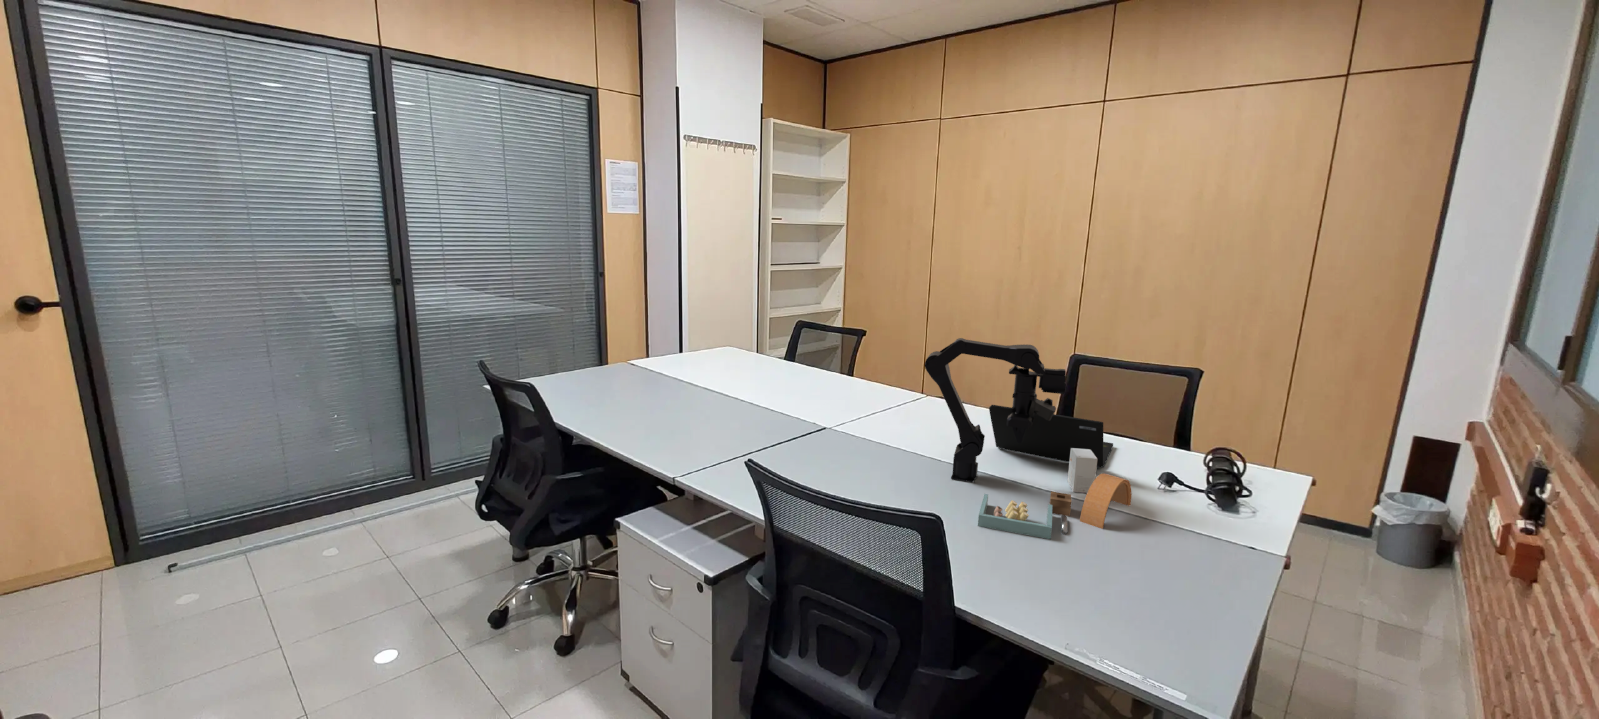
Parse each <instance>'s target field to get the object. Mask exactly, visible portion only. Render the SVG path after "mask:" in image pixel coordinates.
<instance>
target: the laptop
mask: <svg viewBox="0 0 1599 719" xmlns="http://www.w3.org/2000/svg"><path fill="white" fill-rule="evenodd" d="M1011 408H1012V406H1011V407H1010V406H1004V405H997V404H991V405H990V406H989V408H988V410H989V417H990V421H991V422H990V423H991V427H992V431H993V437H994V442H995V446H996V448H999V449H1000V450H1006V451H1011V452H1017V453H1023V454H1026V455H1032V456H1037V457H1042V458H1046V459H1051V460H1052V459H1054V460H1057V461H1063V462H1069V461H1070V451H1071V448H1078V449H1090V450H1091V451H1092V452H1093V454H1094V455H1095V456H1096V458H1097V459H1098V460H1097V468H1101V469H1102V468H1104V467H1105V465H1106V464H1107V461H1108V459H1109V456H1110V455H1111V452H1112V449H1113V447H1114V443H1112V442H1108V441H1107V442H1106V441H1104V422H1103V421H1099V420H1092V419H1087V418H1085V419H1084V418H1080V417H1073V416H1067V415H1062V414H1061V415H1060V414H1055V413H1054V414H1053V416H1052V418H1051V420H1050V421H1048V420H1046V419H1045V418H1043V417H1041V416H1039V415H1037V414H1034V415H1030V416H1031V417H1032V418H1034V420H1033V423H1032V425H1031V428H1030V429H1026V431H1025V434H1024V437H1023V440H1022V443H1017V440H1016V437H1015V434H1014V432H1013V429H1012V427H1009V426H1007V425H1006V424H1007V418H1008V416H1009V415H1010V414H1012V413H1015V412H1011Z"/></svg>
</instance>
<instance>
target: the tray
mask: <svg viewBox="0 0 1599 719" xmlns="http://www.w3.org/2000/svg"><path fill="white" fill-rule="evenodd" d="M988 502H989V494H988V493H984V494H983V497H982V502H981V506H980V508H979V513H978V518H977V526H978V527H981V528H987V529H993V530H998V531H1004V532H1009V533H1013V534H1015V533H1016V534H1021V535H1027V536H1031V537H1037V538H1043V539H1047V540H1052V530H1053V513H1052V505H1050V503H1048V504H1047V513H1046V524H1042V523H1037V522H1031V521H1026V520H1025V521H1021V520H1015V519H1009V518H1007V517H1003V516H1001V517H998V516H994V515H992V514H986V512H987V510H988V508H987V507H988Z"/></svg>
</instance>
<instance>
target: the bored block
mask: <svg viewBox="0 0 1599 719" xmlns="http://www.w3.org/2000/svg"><path fill="white" fill-rule="evenodd" d="M1049 504H1050V505H1052V515H1054V514H1056V515H1060V516H1062V515H1065V516H1066V517H1071V510H1072V494H1070V493H1063V492H1060V491H1059V492H1058V491H1050V498H1049Z"/></svg>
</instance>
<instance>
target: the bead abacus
mask: <svg viewBox="0 0 1599 719" xmlns="http://www.w3.org/2000/svg"><path fill="white" fill-rule="evenodd" d="M1017 505H1018V503H1017V502H1016V501H1015V500H1012V499H1011V500H1010V502H1009V503H1008V505H1007V506H1006V508H1005V509H1004V511H1005V513H1006V514H1004V515H1005V518H1009V519H1015V520H1021V521H1026V520H1028V518H1029V516H1030V515H1029V513H1028V511H1029V510H1028V504H1027V503H1026V502H1024V501H1021V502H1020V504H1019V505H1018V507H1017ZM1002 511H1003V508H1002V507H1001V506H999V505H997V506H996V507H995V509H994V510H993V516H998V517H1003V513H1002Z"/></svg>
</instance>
